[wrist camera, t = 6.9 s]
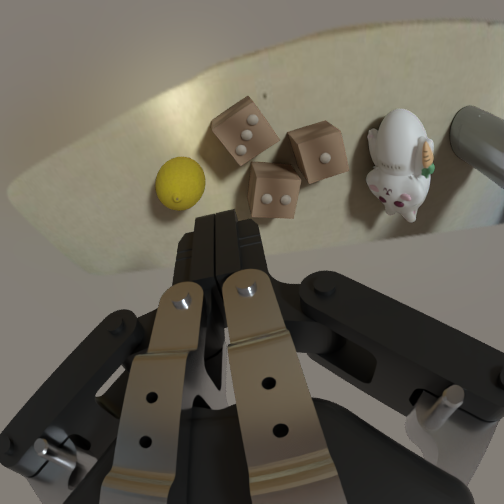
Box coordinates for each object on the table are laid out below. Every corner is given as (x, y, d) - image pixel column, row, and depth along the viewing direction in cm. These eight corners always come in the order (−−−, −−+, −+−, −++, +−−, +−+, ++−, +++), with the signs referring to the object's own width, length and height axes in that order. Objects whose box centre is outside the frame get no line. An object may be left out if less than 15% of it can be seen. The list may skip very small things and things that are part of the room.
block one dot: (325, 120, 33) (341, 131, 29) (334, 155, 37) (349, 171, 32) (287, 132, 34) (298, 144, 30) (298, 167, 37) (309, 184, 33)
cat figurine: (426, 116, 24) (421, 242, 32) (448, 111, 28) (443, 218, 36) (354, 109, 32) (360, 219, 39) (385, 103, 35) (388, 201, 43)
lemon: (202, 191, 37) (201, 225, 31) (159, 187, 36) (148, 220, 30) (209, 150, 34) (208, 176, 28) (163, 145, 33) (151, 170, 27)
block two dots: (290, 164, 37) (301, 181, 33) (284, 199, 40) (293, 219, 36) (251, 161, 36) (257, 178, 32) (247, 197, 39) (252, 217, 35)
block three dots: (247, 95, 31) (253, 102, 27) (271, 128, 34) (280, 140, 30) (211, 120, 32) (211, 130, 28) (236, 151, 35) (240, 167, 31)
